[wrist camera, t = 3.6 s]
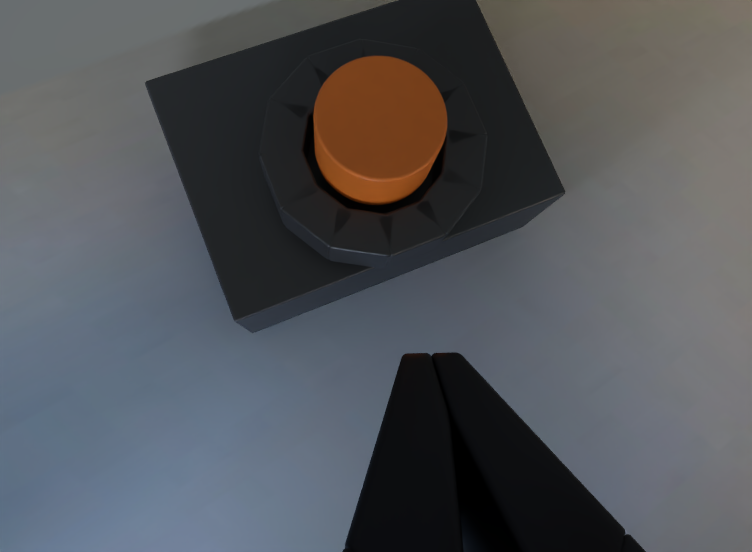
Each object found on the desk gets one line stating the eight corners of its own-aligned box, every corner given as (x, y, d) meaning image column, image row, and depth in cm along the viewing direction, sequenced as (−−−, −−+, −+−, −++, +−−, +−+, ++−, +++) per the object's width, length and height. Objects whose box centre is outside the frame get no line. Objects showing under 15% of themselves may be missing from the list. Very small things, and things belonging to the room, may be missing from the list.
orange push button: (405, 78, 18) (416, 37, 15) (451, 182, 17) (469, 154, 15) (296, 115, 17) (292, 78, 15) (341, 223, 17) (343, 200, 15)
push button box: (441, 46, 24) (480, -63, 18) (525, 230, 23) (594, 178, 17) (176, 136, 22) (124, 48, 17) (253, 337, 21) (226, 321, 16)
